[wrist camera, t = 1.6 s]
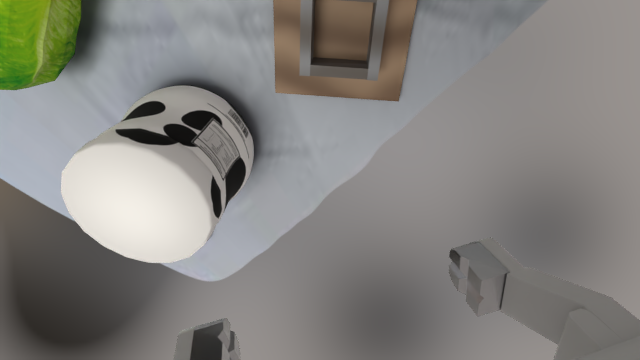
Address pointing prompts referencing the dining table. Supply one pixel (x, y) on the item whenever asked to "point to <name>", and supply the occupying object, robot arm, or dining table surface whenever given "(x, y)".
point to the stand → (342, 47)
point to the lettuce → (36, 40)
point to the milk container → (160, 174)
